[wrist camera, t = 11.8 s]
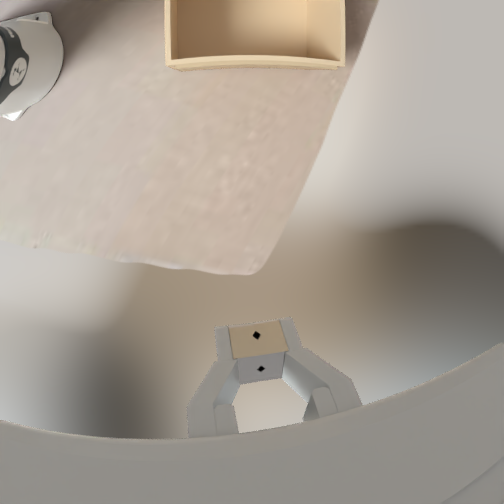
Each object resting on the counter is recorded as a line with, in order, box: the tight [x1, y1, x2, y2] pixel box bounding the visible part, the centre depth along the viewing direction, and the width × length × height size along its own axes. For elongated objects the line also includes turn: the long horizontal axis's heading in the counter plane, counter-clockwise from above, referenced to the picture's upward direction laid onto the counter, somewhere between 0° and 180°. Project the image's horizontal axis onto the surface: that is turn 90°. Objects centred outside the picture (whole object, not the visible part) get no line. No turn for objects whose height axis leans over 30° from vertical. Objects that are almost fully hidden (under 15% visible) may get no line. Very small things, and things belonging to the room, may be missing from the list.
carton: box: [164, 0, 345, 72], centre depth 27 cm, size 20×16×12 cm
